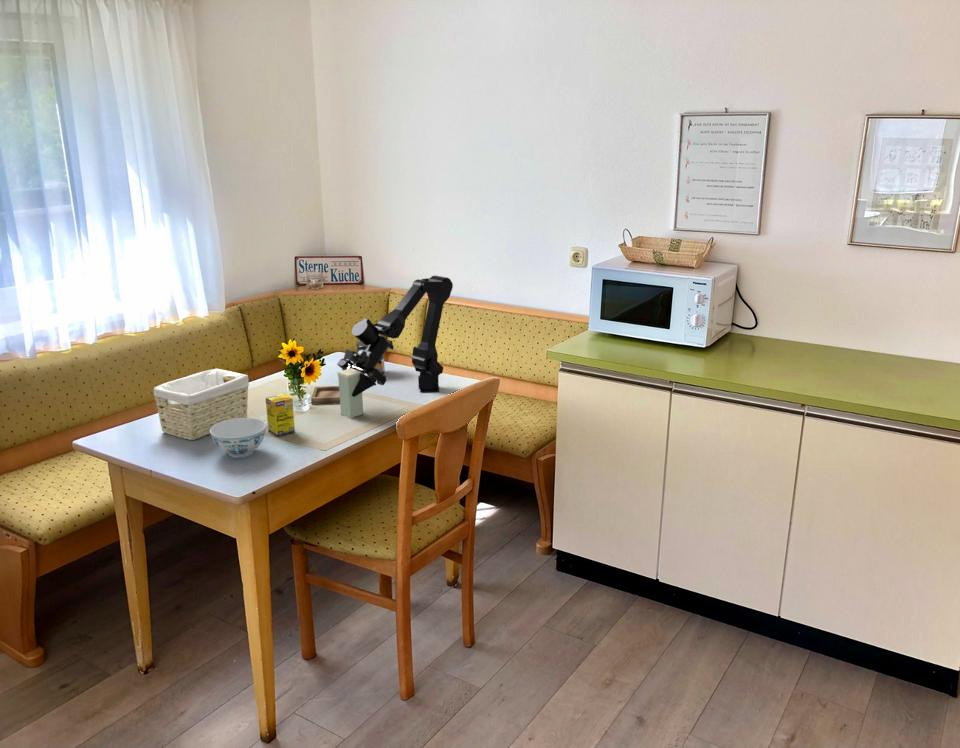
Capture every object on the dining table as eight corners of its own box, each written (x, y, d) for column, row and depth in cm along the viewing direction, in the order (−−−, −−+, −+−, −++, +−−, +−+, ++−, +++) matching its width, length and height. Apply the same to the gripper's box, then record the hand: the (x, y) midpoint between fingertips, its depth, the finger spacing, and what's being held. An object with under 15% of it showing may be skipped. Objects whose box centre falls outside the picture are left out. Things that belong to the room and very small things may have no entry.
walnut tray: (350, 391, 272) (350, 385, 271) (348, 402, 260) (348, 397, 260) (315, 392, 271) (315, 386, 270) (311, 404, 259) (311, 398, 259)
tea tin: (353, 409, 253) (351, 368, 249) (363, 413, 250) (361, 371, 245) (340, 414, 250) (337, 372, 245) (350, 418, 246) (347, 375, 242)
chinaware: (278, 445, 226) (275, 420, 224) (252, 466, 212) (249, 439, 210) (230, 440, 230) (228, 416, 227) (202, 461, 216) (198, 435, 213)
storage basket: (219, 410, 255) (214, 366, 250) (255, 419, 247) (250, 374, 242) (156, 434, 235) (149, 387, 231) (192, 444, 227) (186, 396, 223)
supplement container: (391, 374, 289) (389, 343, 285) (367, 381, 282) (365, 348, 278) (374, 368, 296) (372, 337, 293) (350, 374, 289) (348, 343, 286)
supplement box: (277, 437, 232) (274, 402, 229) (268, 431, 236) (264, 397, 233) (295, 432, 236) (292, 397, 232) (286, 426, 240) (283, 392, 237)
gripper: (340, 334, 252) (313, 374, 247) (377, 344, 239) (350, 387, 235) (361, 352, 259) (335, 392, 255) (398, 364, 247) (372, 406, 243)
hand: (347, 394), depth 247 cm, fingers closed on tea tin, 5 cm apart
